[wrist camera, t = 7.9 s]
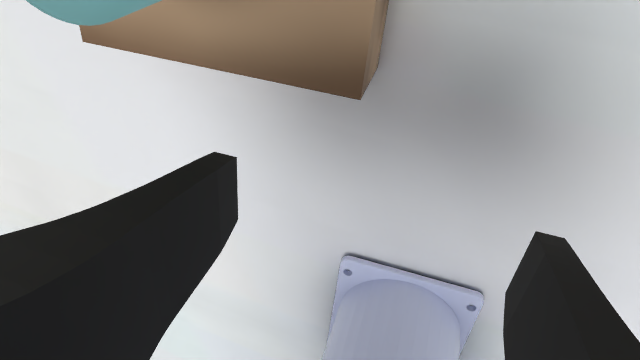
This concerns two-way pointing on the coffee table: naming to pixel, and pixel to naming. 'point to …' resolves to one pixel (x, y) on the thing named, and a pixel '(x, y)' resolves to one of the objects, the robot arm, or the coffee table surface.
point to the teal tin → (90, 9)
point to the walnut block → (260, 39)
